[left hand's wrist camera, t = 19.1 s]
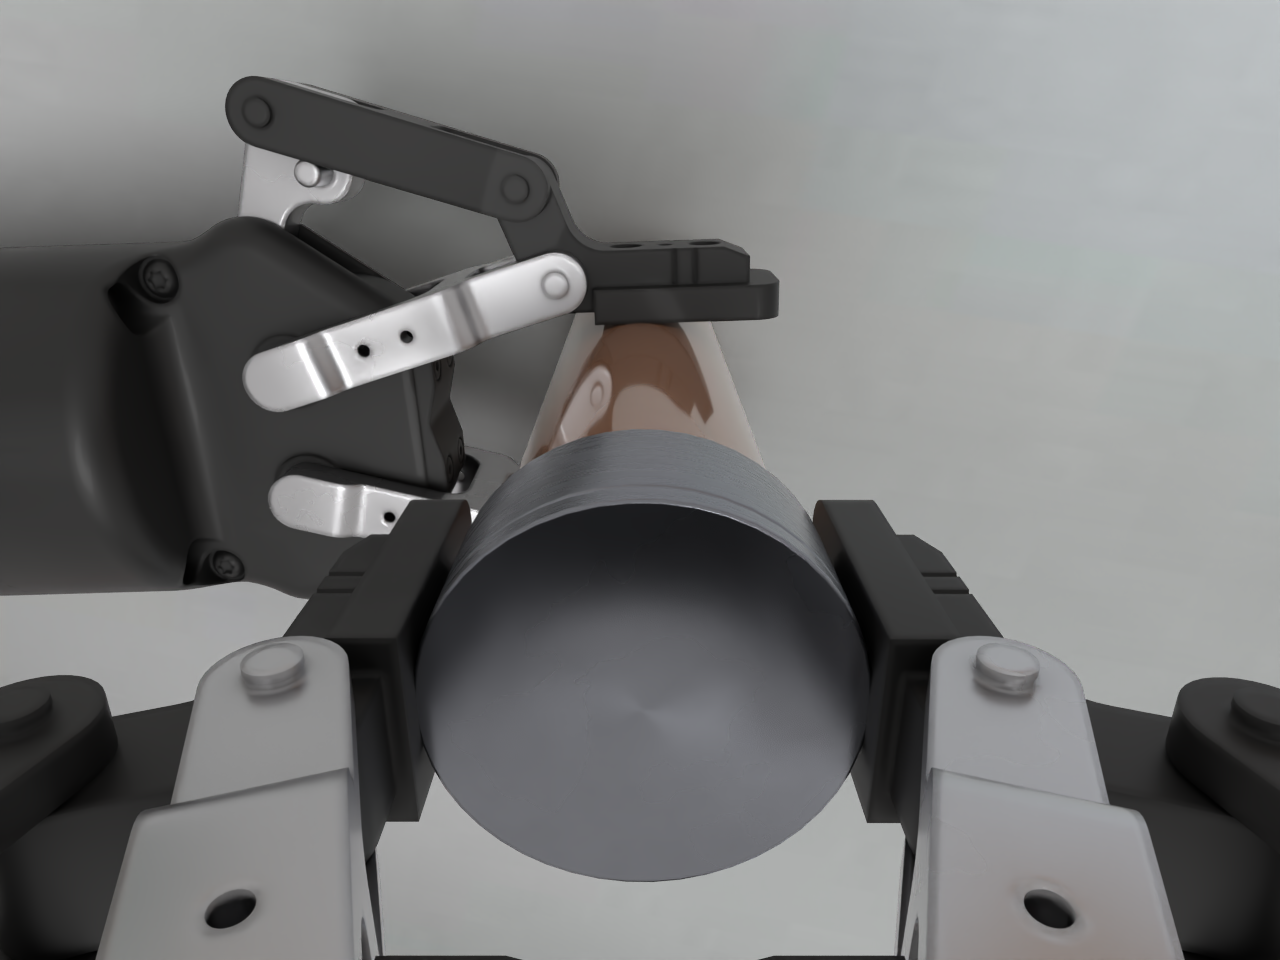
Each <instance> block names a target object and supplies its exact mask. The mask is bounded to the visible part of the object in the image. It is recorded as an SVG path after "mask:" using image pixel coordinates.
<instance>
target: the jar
mask: <svg viewBox="0 0 1280 960" xmlns="http://www.w3.org/2000/svg"><path fill="white" fill-rule="evenodd" d="M630 429H648V430H665V431H672V432H679V433H686V434H690V435H693V436H697V437H701V438H704V439H708V440H712V441H714V442H716V443H719V444H721V445H724V446H726V447H729V448H731V449H733V450H736V451H737V452H739V453H741V454H743V455H744V456H746V457H748V458H750V459H751V460H753V461H755V462H756V463H758V464H759V465H761V466H762V467H763V468H764V469H766V468H765V465H764V462H763V460H762V457H761V454H760V452H759V449H758V446H757V444H756V441H755V438H754V436H753V433H752V430H751V428H750V425H749V422H748V420H747V417H746V414H745V412H744V409H743V406H742V404H741V401H740V398H739V396H738V393H737V390H736V388H735V385H734V382H733V380H732V377H731V374H730V372H729V369H728V366H727V364H726V361H725V358H724V356H723V353H722V350H721V348H720V345H719V342H718V340H717V337H716V334H715V332H714V329H713V326H712V324H711V321H708V322H679V323H650V324H649V323H635V324H620V325H595V316H594V313H576V314H575V317H574V319H573V322H572V325H571V328H570V330H569V333H568V336H567V338H566V341H565V344H564V347H563V349H562V352H561V355H560V357H559V360H558V363H557V366H556V368H555V371H554V374H553V376H552V379H551V382H550V385H549V387H548V390H547V393H546V395H545V398H544V401H543V404H542V406H541V409H540V412H539V414H538V417H537V420H536V423H535V425H534V428H533V431H532V433H531V436H530V439H529V442H528V444H527V447H526V450H525V452H524V455H523V458H522V461H521V463H520V466H519V469H521V468H522V467H523V466H525V465H526V464H527V463H529V462H530V461H532V460H533V459H535V458H537V457H539V456H541V455H543V454H544V453H546V452H548V451H550V450H552V449H554V448H556V447H558V446H561V445H564V444H566V443H569V442H572V441H574V440H577V439H579V438H584V437H588V436H592V435H596V434H600V433H604V432H612V431H621V430H630ZM519 469H518V470H519Z"/></svg>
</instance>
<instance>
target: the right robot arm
mask: <svg viewBox="0 0 1280 960" xmlns="http://www.w3.org/2000/svg"><path fill="white" fill-rule="evenodd" d="M225 110H226V116H227V119H228V122H229V124H230V126H231V128H232V130H233V131H234V132H235V134H236V135H237V136H238V137H239V138H240V139H241V140H243V141H244V142H245V143H246V144H245V153H244V162H243V172H242V181H241V190H240V199H239V209H238V217H234V218H230V219H227V220H224V221H222V222H220V223H218V224H216V225H214V226H213V227H212V228H210V229H209V230H208V231H206V232H205V233H203V234H202V235H201V236H199V237H197V238H195V239H193V240H191V241H182V242H158V243H129V244H100V245H71V246H42V247H11V248H0V596H7V595H41V594H76V593H110V592H145V591H177V590H188V589H195V588H202V587H207V586H213V585H218V584H224V583H231V582H241V581H242V582H252V583H258V584H261V585H265V586H268V587H271V588H274V589H276V590H279V591H281V592H283V593H285V594H288V595H290V596H294V597H297V598H303V599H310V598H311V596H312V595H313V593H317V588H318V586H319V585H320V584H321V582H322V581H323V579H324V578H325V577H326V576H329V571H330V570H331V568H332V567H333V565H334V564H335V563H336V561H337V560H338V558H339V557H340V556H341V554H342V553H343V552H344V551H345V550H347V549H348V548H350V547H352V546H353V545H355V544H356V543H358V542H360V541H361V540H363V539H364V538H366V537H368V536H369V535H371V534H389V533H390V532H391V530H392V529H393V527H394V525H395V524H396V522H397V521H398V519H399V518H400V516H401V514H402V513H403V511H404V510H405V508H406V506H407V505H408V503H409V502H410V501H411V500H426V499H465V500H467V501H468V503H469V507H470V511H471V518H472V523H473V521H474V519H475V517H476V516H477V514H478V512H479V510H480V509H481V508H482V507H483V505H484V504H485V503H486V502H487V500H488V499H489V498H490V496H491V495H492V494H493V493H494V491H495V490H497V489H498V488H499V487H500V486H501V485H502V484H503V483H504V482H505V481H506V480H507V479H508V478H509V477H510V476H511V475H512V474H514V473H515V472H516V471H518V469H519V466H520V465H518V464H516V463H515V461H514V460H513V459H511V458H509V457H507V456H505V455H502V454H498V453H494V452H490V451H485V450H481V449H477V448H472V447H468V446H464V440H463V431H462V428H461V426H460V423H459V421H458V418H457V416H456V413H455V411H454V408H453V406H452V403H451V400H450V391H451V385H452V378H453V372H454V366H455V362H454V355H455V354H458V353H460V352H463V351H466V350H468V349H470V348H473V347H475V346H477V345H479V344H480V343H482V342H484V341H486V340H489V339H491V338H494V337H497V336H500V335H503V334H506V333H509V332H512V331H516V330H519V329H522V328H525V327H528V326H531V325H534V324H537V323H540V322H543V321H546V320H549V319H553V318H556V317H559V316H562V315H565V314H568V313H594V316H595V325H620V324H635V323H649V324H650V323H679V322H708V321H738V320H762V319H770V318H774V317H777V316H778V308H779V280H778V279H777V278H776V277H775V276H774V275H773V274H772V272H771V271H768V270H763V269H750V256H749V255H748V254H747V253H746V252H745V250H744V249H743V248H741V247H739V246H736V245H733V244H731V243H728V242H725V241H723V240H720V239H701V240H674V241H645V242H617V243H603V242H598V241H595V240H592V239H591V238H589V237H587V236H586V235H584V234H583V233H582V232H581V231H580V230H579V229H578V228H577V226H576V225H575V223H574V221H573V219H572V217H571V215H570V212H569V210H568V207H567V205H566V203H565V200H564V198H563V195H562V193H561V191H560V188H559V177H558V174H557V171H556V169H555V167H554V166H553V164H552V163H551V162H550V161H549V160H548V159H547V158H545V157H544V156H542V155H539V154H537V153H533V152H530V151H527V150H524V149H520V148H517V147H514V146H510V145H507V144H504V143H500V142H497V141H494V140H491V139H487V138H484V137H481V136H477V135H474V134H471V133H468V132H464V131H461V130H458V129H454V128H451V127H448V126H444V125H441V124H438V123H435V122H431V121H428V120H425V119H421V118H418V117H415V116H411V115H408V114H405V113H402V112H398V111H395V110H392V109H388V108H385V107H382V106H378V105H375V104H372V103H369V102H365V101H362V100H359V99H355V98H352V97H349V96H346V95H342V94H339V93H336V92H332V91H329V90H326V89H322V88H319V87H316V86H313V85H308V84H303V83H297V82H292V81H286V80H279V79H273V78H265V77H259V76H249V77H245V78H242V79H240V80H238V81H237V82H236V83H235V84H233V85H232V87H231V88H230V90H229V92H228V94H227V97H226V103H225ZM365 179H366V180H369V181H373V182H376V183H379V184H383V185H386V186H390V187H393V188H396V189H400V190H403V191H407V192H410V193H413V194H417V195H420V196H424V197H427V198H430V199H434V200H437V201H441V202H444V203H447V204H451V205H454V206H458V207H461V208H464V209H468V210H471V211H475V212H478V213H481V214H485V215H488V216H492V217H495V218H497V219H498V221H499V223H500V225H501V228H502V230H503V232H504V234H505V237H506V239H507V241H508V243H509V246H510V248H511V250H512V252H513V255H511V256H508V257H505V258H502V259H499V260H496V261H493V262H490V263H487V264H483V265H477V266H473V267H470V268H467V269H464V270H461V271H458V272H455V273H452V274H449V275H446V276H443V277H440V278H437V279H434V280H431V281H428V282H425V283H422V284H419V285H416V286H413V287H410V288H407V289H403V288H402V287H400V286H399V285H397V284H395V283H394V282H392V281H391V280H389V279H388V278H386V277H384V276H383V275H381V274H380V273H378V272H377V271H375V270H373V269H372V268H370V267H369V266H367V265H366V264H364V263H362V262H361V261H359V260H358V259H356V258H355V257H353V256H351V255H350V254H348V253H347V252H345V251H344V250H342V249H340V248H339V247H337V246H336V245H334V244H333V243H331V242H329V241H328V240H326V239H325V238H323V237H322V236H320V235H319V234H317V233H315V232H314V231H312V230H311V229H309V228H308V227H306V226H304V225H303V224H301V219H302V216H303V214H304V212H305V211H306V209H307V208H308V207H309V206H311V205H312V204H313V203H316V204H323V205H324V204H332V203H337V202H341V201H346V200H349V199H352V198H353V197H355V196H356V195H357V194H358V193H359V192H360V191H361V189H362V187H363V185H364V182H365ZM460 471H461V472H462V473H461V472H460Z"/></svg>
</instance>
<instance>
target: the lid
mask: <svg viewBox="0 0 1280 960" xmlns="http://www.w3.org/2000/svg"><path fill="white" fill-rule="evenodd" d="M414 674H415V688H416V698H417V707H418V716H419V724H420V731H421V739H422V744H423V746H424V749H425V751H426V753H427V756H428V758H429V760H430V763H431V765H432V767H433V769H434V770H435V772H436V774H437V775H438V777H439V779H440V780H441V782H442V784H443V785H444V787H445V788H446V790H447V791H448V792H449V793H450V795H451V796H452V797H453V798H454V799H455V801H456V802H457V803H458V804H459V806H460V807H461V808H462V809H463V810H464V811H465V812H466V813H467V814H468V815H469V816H470V817H471V818H473V819H474V820H475V821H476V822H477V823H478V824H479V825H480V826H481V827H483V828H484V829H485V830H487V831H488V832H489V833H491V834H492V835H493V836H495V837H496V838H497V839H499V840H500V841H502V842H503V843H505V844H507V845H509V846H510V847H512V848H514V849H515V850H517V851H519V852H521V853H522V854H524V855H527V856H529V857H531V858H533V859H536V860H538V861H540V862H542V863H545V864H547V865H550V866H553V867H556V868H559V869H562V870H565V871H568V872H571V873H576V874H580V875H585V876H590V877H594V878H599V879H608V880H617V881H627V882H657V881H668V880H680V879H685V878H690V877H696V876H701V875H706V874H710V873H713V872H716V871H720V870H723V869H727V868H730V867H733V866H735V865H738V864H740V863H743V862H745V861H748V860H750V859H752V858H755V857H757V856H759V855H761V854H763V853H764V852H766V851H768V850H770V849H772V848H774V847H775V846H777V845H779V844H781V843H782V842H784V841H785V840H786V839H788V838H789V837H791V836H792V835H793V834H795V833H796V832H798V831H799V830H801V829H802V828H803V827H804V826H805V825H806V824H807V823H808V822H810V821H811V820H812V819H813V818H814V817H815V816H816V815H817V814H818V813H820V812H821V810H822V809H823V808H824V807H825V806H826V805H827V803H828V802H829V801H830V800H831V799H832V798H833V797H834V795H835V794H836V793H837V792H838V790H839V789H840V787H841V786H842V784H843V782H844V781H845V779H846V778H847V776H848V775H849V773H850V772H851V770H852V768H853V765H854V763H855V761H856V759H857V757H858V755H859V753H860V750H861V748H862V745H863V741H864V736H865V729H866V721H867V713H868V704H869V695H870V685H871V667H870V661H869V656H868V650H867V646H866V643H865V641H864V638H863V635H862V632H861V629H860V626H859V623H858V621H857V619H856V617H855V614H854V612H853V610H852V608H851V606H850V603H849V601H848V599H847V596H846V594H845V592H844V590H843V588H842V585H841V583H840V581H839V579H838V576H837V574H836V572H835V570H834V567H833V565H832V563H831V561H830V558H829V556H828V554H827V552H826V549H825V547H824V545H823V543H822V541H821V538H820V536H819V534H818V532H817V530H816V528H815V526H814V525H813V523H812V521H811V519H810V517H809V515H808V514H807V512H806V511H805V510H804V508H803V507H802V506H801V504H800V503H799V501H798V500H797V499H796V497H795V496H794V495H793V494H792V493H791V492H790V491H789V490H788V489H787V488H786V487H785V486H784V485H783V484H782V483H781V482H780V481H779V480H778V479H777V478H776V477H775V476H774V475H772V474H771V473H770V472H768V471H767V470H766V469H764V468H763V467H762V466H761V465H759V464H758V463H756V462H755V461H753V460H751V459H750V458H748V457H746V456H744V455H743V454H741V453H739V452H737V451H736V450H733V449H731V448H729V447H726V446H724V445H721V444H719V443H716V442H714V441H712V440H708V439H704V438H701V437H697V436H693V435H690V434H686V433H679V432H672V431H665V430H648V429H630V430H621V431H612V432H604V433H600V434H596V435H592V436H588V437H584V438H579V439H577V440H574V441H572V442H569V443H566V444H564V445H561V446H558V447H556V448H554V449H552V450H550V451H548V452H546V453H544V454H543V455H541V456H539V457H537V458H535V459H533V460H532V461H530V462H529V463H527V464H526V465H525V466H523V467H522V468H521V469H519V470H518V471H516V472H515V473H514V474H512V475H511V476H510V477H509V478H508V479H507V480H506V481H505V482H504V483H503V484H502V485H501V486H500V487H499V488H498V489H497V490H495V491H494V493H493V494H492V495H491V496H490V498H489V499H488V500H487V502H486V503H485V504H484V505H483V507H482V508H481V509H480V510H479V512H478V514H477V516H476V517H475V519H474V521H473V523H472V524H471V526H470V528H469V530H468V532H467V534H466V536H465V538H464V541H463V543H462V545H461V548H460V550H459V552H458V554H457V557H456V559H455V561H454V563H453V566H452V568H451V570H450V573H449V575H448V577H447V579H446V582H445V584H444V586H443V589H442V591H441V593H440V595H439V598H438V600H437V603H436V604H435V607H434V609H433V611H432V614H431V616H430V618H429V621H428V623H427V626H426V628H425V631H424V634H423V636H422V639H421V641H420V645H419V649H418V654H417V659H416V663H415V668H414Z"/></svg>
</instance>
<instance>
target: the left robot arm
mask: <svg viewBox="0 0 1280 960" xmlns="http://www.w3.org/2000/svg"><path fill="white" fill-rule="evenodd" d="M471 524H472V518H471V511H470V507H469V503H468V501H467V500H465V499H426V500H411V501H410V502H409V503H408V505H407V506H406V508H405V510H404V511H403V513H402V514H401V516H400V518H399V519H398V521H397V522H396V524H395V525H394V527H393V529H392V530H391V532H390V533H389V534H371V535H369V536H368V537H366V538H364V539H363V540H361V541H360V542H358V543H356V544H355V545H353V546H352V547H350V548H348V549H347V550H345V551H344V552H343V553H342V554H341V556H340V557H339V558H338V560H337V561H336V563H335V564H334V565H333V567H332V568H331V570H330V571H329V576H326V577H325V578H324V579H323V581H322V582H321V584H320V585H319V586H318V588H317V593H313V595H312V596H311V598H310V599H309V600H308V602H307V603H306V605H305V606H304V607H303V609H302V610H301V612H300V613H299V614H298V616H297V617H296V619H295V620H294V621H293V623H292V624H291V626H290V627H289V628H288V630H287V631H286V633H285V634H284V636H283V637H280V638H275V639H270V640H265V641H262V642H258V643H255V644H252V645H249V646H246V647H244V648H241V649H239V650H237V651H235V652H233V653H231V654H229V655H227V656H226V657H224V658H222V659H221V660H219V661H218V662H217V663H215V664H214V665H213V666H212V667H211V668H210V669H209V670H208V671H207V672H206V673H205V674H204V675H203V677H202V678H201V680H200V682H199V684H198V687H197V691H196V695H195V700H193V701H190V702H186V703H181V704H177V705H172V706H166V707H161V708H156V709H151V710H145V711H140V712H135V713H129V714H124V715H119V716H114V717H112V716H111V712H110V708H109V705H108V701H107V698H106V694H105V691H104V689H103V687H102V686H101V685H100V684H99V683H98V682H96V681H94V680H92V679H89V678H85V677H81V676H73V675H57V676H46V677H40V678H34V679H29V680H25V681H21V682H17V683H13V684H10V685H7V686H4V687H1V688H0V960H521V959H517V958H512V957H508V956H386V950H385V936H384V923H383V910H382V897H381V883H380V870H379V863H378V856H377V850H376V846H377V844H378V841H379V839H380V836H381V833H382V831H383V828H384V825H385V822H419V819H420V816H421V813H422V810H423V807H424V804H425V801H426V798H427V794H428V791H429V788H430V785H431V782H432V779H433V776H434V773H435V770H434V769H433V767H432V765H431V763H430V760H429V758H428V756H427V753H426V751H425V749H424V746H423V744H422V739H421V731H420V724H419V716H418V707H417V698H416V688H415V674H414V668H415V663H416V659H417V654H418V649H419V645H420V641H421V639H422V636H423V634H424V631H425V628H426V626H427V623H428V621H429V618H430V616H431V614H432V611H433V609H434V607H435V604H436V603H437V600H438V598H439V595H440V593H441V591H442V589H443V586H444V584H445V582H446V579H447V577H448V575H449V573H450V570H451V568H452V566H453V563H454V561H455V559H456V557H457V554H458V552H459V550H460V548H461V545H462V543H463V541H464V538H465V536H466V534H467V532H468V530H469V528H470V526H471ZM813 525H814V526H815V528H816V530H817V532H818V534H819V536H820V538H821V541H822V543H823V545H824V547H825V549H826V552H827V554H828V556H829V558H830V561H831V563H832V565H833V567H834V570H835V572H836V574H837V576H838V579H839V581H840V583H841V585H842V588H843V590H844V592H845V594H846V596H847V599H848V601H849V603H850V606H851V608H852V610H853V612H854V614H855V617H856V619H857V621H858V623H859V626H860V629H861V632H862V635H863V638H864V641H865V643H866V646H867V650H868V656H869V661H870V667H871V685H870V695H869V704H868V713H867V721H866V729H865V736H864V741H863V745H862V748H861V750H860V753H859V755H858V757H857V759H856V761H855V763H854V765H853V768H852V770H851V775H852V778H853V781H854V785H855V788H856V791H857V794H858V797H859V800H860V803H861V806H862V809H863V812H864V815H865V818H866V821H867V823H901V825H902V828H903V831H904V833H905V843H904V849H903V856H902V863H901V870H900V883H899V897H898V910H897V923H896V936H895V950H894V956H772V957H768V958H763V959H759V960H1280V689H1279V688H1276V687H1273V686H1269V685H1266V684H1262V683H1258V682H1254V681H1248V680H1242V679H1235V678H1204V679H1199V680H1195V681H1192V682H1190V683H1188V684H1186V685H1185V686H1184V687H1183V688H1182V689H1181V690H1180V692H1179V695H1178V698H1177V701H1176V705H1175V708H1174V712H1173V715H1172V717H1167V716H1162V715H1156V714H1151V713H1146V712H1140V711H1135V710H1130V709H1125V708H1119V707H1114V706H1109V705H1105V704H1100V703H1096V702H1093V701H1090V700H1086V699H1085V695H1084V691H1083V687H1082V684H1081V682H1080V680H1079V678H1078V677H1077V675H1076V674H1075V673H1074V672H1073V671H1072V670H1071V669H1070V668H1069V667H1068V666H1067V665H1066V664H1065V663H1063V662H1062V661H1061V660H1059V659H1058V658H1056V657H1054V656H1053V655H1051V654H1049V653H1047V652H1045V651H1043V650H1041V649H1039V648H1036V647H1034V646H1031V645H1028V644H1025V643H1022V642H1018V641H1015V640H1010V639H1005V638H1003V636H1002V635H1001V633H1000V632H999V631H998V629H997V628H996V626H995V625H994V624H993V622H992V621H991V620H990V618H989V617H988V615H987V614H986V613H985V611H984V610H983V609H982V607H981V606H980V604H979V603H978V602H977V600H976V599H975V597H974V596H973V595H972V594H969V589H968V588H967V586H966V585H965V584H964V582H963V581H962V580H961V578H960V577H957V575H956V571H955V570H954V569H953V567H952V566H951V564H950V563H949V562H948V560H947V559H946V557H945V556H944V555H943V553H942V552H940V551H939V550H937V549H936V548H934V547H932V546H931V545H929V544H928V543H926V542H924V541H923V540H921V539H920V538H918V537H916V536H915V535H896V534H895V532H894V531H893V529H892V527H891V526H890V524H889V523H888V521H887V520H886V518H885V517H884V515H883V513H882V512H881V510H880V509H879V507H878V506H877V504H876V503H875V502H874V501H873V500H818V501H817V503H816V506H815V509H814V515H813Z"/></svg>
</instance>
